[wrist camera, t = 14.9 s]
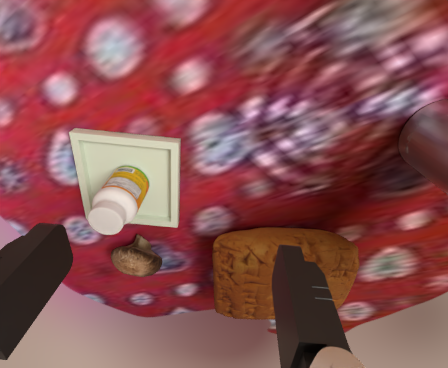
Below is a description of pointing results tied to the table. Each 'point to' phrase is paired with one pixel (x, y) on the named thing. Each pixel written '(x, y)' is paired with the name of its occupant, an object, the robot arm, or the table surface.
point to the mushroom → (136, 258)
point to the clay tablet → (264, 264)
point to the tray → (134, 155)
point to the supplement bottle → (118, 199)
